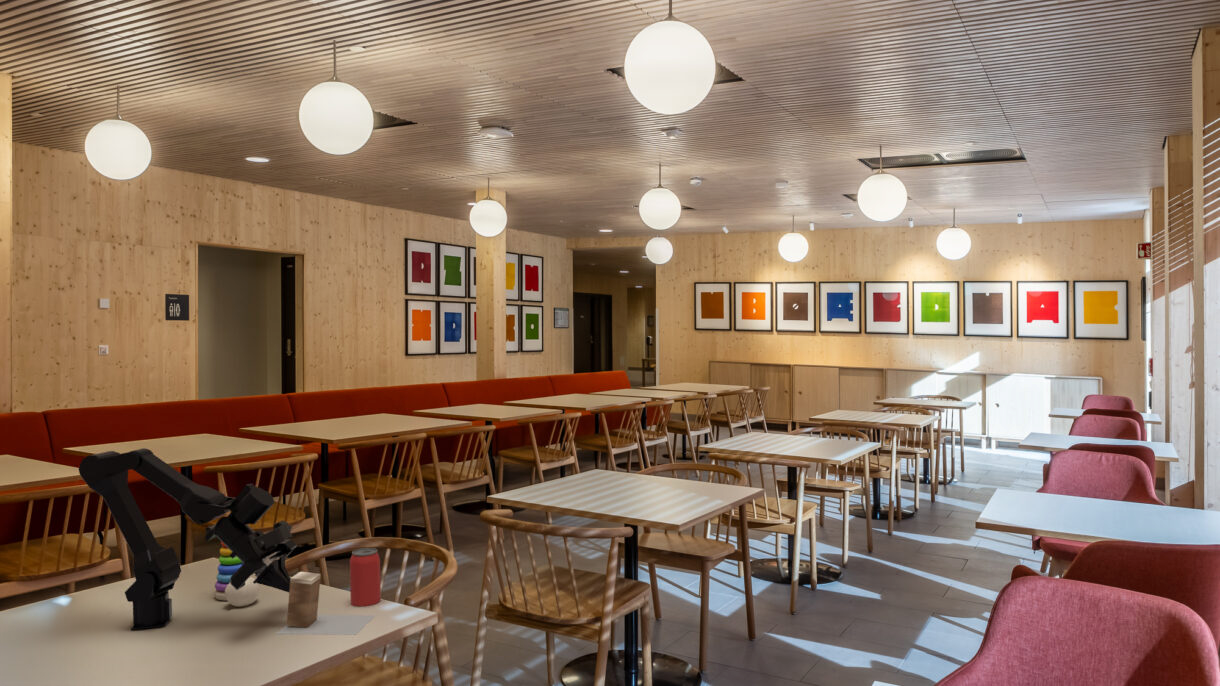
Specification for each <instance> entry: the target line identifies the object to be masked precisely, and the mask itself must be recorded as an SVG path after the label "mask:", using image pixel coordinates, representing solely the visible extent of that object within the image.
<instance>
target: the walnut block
mask: <svg viewBox="0 0 1220 686" xmlns="http://www.w3.org/2000/svg"><path fill="white" fill-rule="evenodd" d="M290 578H291V580H290V591H289V592H288V594H289V595H288V603H287V613H286V614H287V617H286V625H288V626H296V627H304V628H308V627H309V626H310V625H311V624H313V623H314V622H315V621H316V620H317V615H318V609H319V597H320V586H321V585H320V584H321V573H317V572H315V573H314V572H307V571H299V572H297V573H296V574H294V575H293V576H292V577H290Z"/></svg>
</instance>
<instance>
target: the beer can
mask: <svg viewBox="0 0 1220 686" xmlns="http://www.w3.org/2000/svg"><path fill="white" fill-rule="evenodd" d="M349 579H350V580H349V584H350V585H349V588H350V604H351V605H352V606H354V607H359V608H361V607H370V606H373V605H377V604H378V603H380V602H381V599H382V597H381V596H382V593H381V592H382V591H381V558H380V555H379V553H378V549H377V548H373V547H362V548H357V549H355V550H353V551H352V552H351V557H350V558H349Z"/></svg>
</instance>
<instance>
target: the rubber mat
mask: <svg viewBox="0 0 1220 686" xmlns="http://www.w3.org/2000/svg"><path fill="white" fill-rule="evenodd" d="M375 617H376V614H368V615H367V614H317V620H316V621H315V622H314V623H313V624H311V625H310V626H309V627H308V628H304V627H296V626H288V625H287V624H286V625H284V626H283V627H282V628H281V629H280V630H278V631H277V632H275V635H321V636H322V635H326V636H327V635H335V636H336V635H337V636H339V635H340V636H342V635H345V636H348V635H349V636H357V635H358V634H359V633H360V632H361V631H362V630H363V629H364V628H365V627H366V626H367V624H369V623H370V622H371V621H372V620H373V619H374V618H375Z"/></svg>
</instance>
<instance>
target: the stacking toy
mask: <svg viewBox="0 0 1220 686" xmlns="http://www.w3.org/2000/svg"><path fill="white" fill-rule="evenodd" d="M220 544H221V546H222V547H221V548H220V549H219V553H220V556H219V558H218V561H219V565H218V566H217V571H218V573H217V575H216V580H217V581H216V582H215V584H214V589H215V591H214V593H213V595H214V598H215V599H217V600H219V601H228V600H227V599H226V598H225V588H226V586H227V585H228V584H229V583H230V578H231V576H232V575H233V574H234V573H235V572H236V571H237V570H238V569H239V568H240V567H241V566H242V565H243V564H244V563H243V562H242V561H241V560H240V559H239V558H238V557H235V558H233V559H232V558H231V557H230V556H229V555H230V554H231V553H232V551H231V550H230V549H229V548H228V547H227V546H226V545H225V544H224V543H223V542H222V541H221V540H220Z"/></svg>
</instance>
